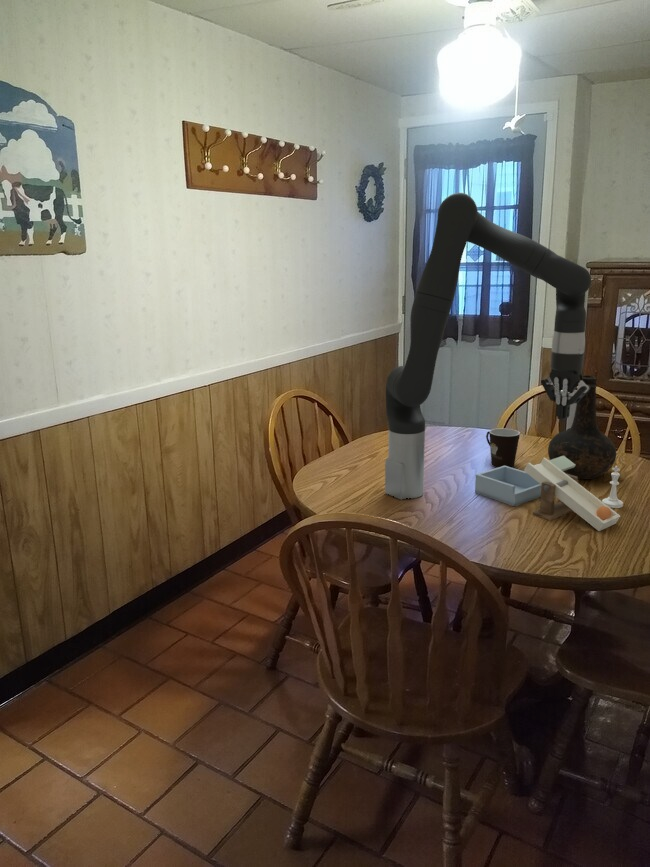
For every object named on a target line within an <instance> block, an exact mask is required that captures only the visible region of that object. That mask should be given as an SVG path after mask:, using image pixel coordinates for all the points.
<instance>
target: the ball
mask: <svg viewBox="0 0 650 867" xmlns="http://www.w3.org/2000/svg"><path fill="white" fill-rule="evenodd" d="M596 514H597V516H598V517H599V518H600V519H601V520H606V519H608V518H610V517H611V515H612V513H611V510H610V509H609V508H608V507H606V506H601V507H599V508H598V509H597V512H596Z"/></svg>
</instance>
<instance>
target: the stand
mask: <svg viewBox="0 0 650 867" xmlns="http://www.w3.org/2000/svg"><path fill="white" fill-rule="evenodd" d="M567 475H568V476H570V477H571V478H572V479H573V480H575V481H576V482H577V483H579V479H578V477H577V476H574V475H570V474H567ZM555 488H556V485H555V484H551V483H548V482H542V486H541V497H540V500H539V501H540V502H539V508H538V509H536V510H534V511H532V515H534V516H537V517H540V518H543V519H545V520H548V521H553V520H555V519H558V518H560V517H562V516H565V515H567V514H569V513H572V512H574V511H573V510H572V509H571V508H569V507H568V506H567V505H566V504H564V503H563V502H562V501H561V500H560V501H557V502H555V499H556V496H555Z"/></svg>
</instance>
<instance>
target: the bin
mask: <svg viewBox="0 0 650 867" xmlns="http://www.w3.org/2000/svg"><path fill="white" fill-rule="evenodd" d="M541 486H542V485H541V484H540V483H539V482H537V481H536V480H535V479H534V478H532V477H531V476H530V475H529V474H527V473H526V472H525V471H524V470H521V469H517V468H514V467H512V468H511V467H508V466H501V467H498V468H497V467H494V468H492V469H489V470H485V471H482V472H479V473H476V474H475V484H474V493H475V494H478V495H481V496H484V497H485V498H489V499H491V500H492V499H493V500H494V501H498V502H501V503H504V504H507V505H509V506H512V507H517V506H520V505H523V504H525V503H527V502H531V501H533V500H535V499H538V498H541Z"/></svg>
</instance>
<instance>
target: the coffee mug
mask: <svg viewBox="0 0 650 867" xmlns="http://www.w3.org/2000/svg"><path fill="white" fill-rule="evenodd" d="M520 435H521V432H520V431H519V430H516V429H512V428H501V427H500V428H493V429H489V431H487V432H486V436H485V437H486V441H487V444H488V446H489V447H490V462H491V464H490V465H491V466H492V467H494V468H498V467H501V466H508V467H511V468H514V467H515V461H516V458H517V457H516V456H517V452H518V446H519V440H520Z"/></svg>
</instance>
